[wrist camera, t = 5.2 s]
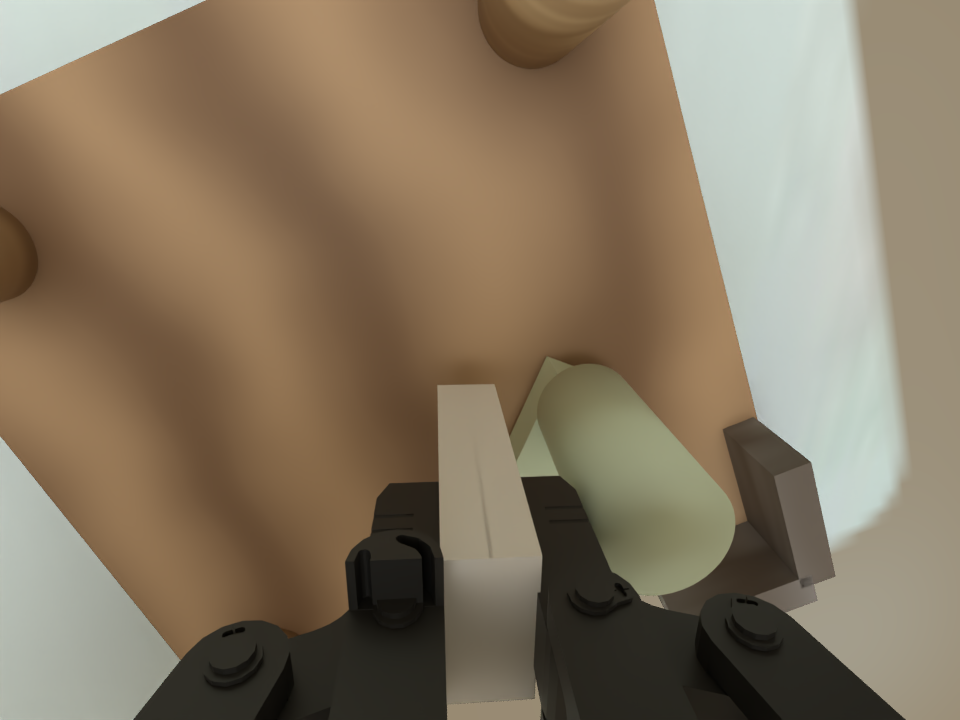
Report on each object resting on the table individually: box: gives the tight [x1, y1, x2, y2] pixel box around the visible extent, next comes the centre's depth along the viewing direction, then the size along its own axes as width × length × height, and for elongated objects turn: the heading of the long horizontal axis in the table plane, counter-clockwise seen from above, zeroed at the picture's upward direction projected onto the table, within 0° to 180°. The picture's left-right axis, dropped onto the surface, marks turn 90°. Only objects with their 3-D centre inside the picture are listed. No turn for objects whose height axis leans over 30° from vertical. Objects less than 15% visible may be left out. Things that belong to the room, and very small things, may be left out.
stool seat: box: [0, 0, 835, 660], centre depth 15 cm, size 22×22×10 cm
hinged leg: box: [509, 356, 735, 596], centre depth 15 cm, size 11×3×7 cm, turn 158°
